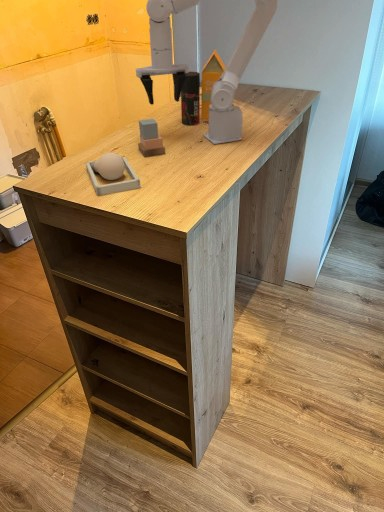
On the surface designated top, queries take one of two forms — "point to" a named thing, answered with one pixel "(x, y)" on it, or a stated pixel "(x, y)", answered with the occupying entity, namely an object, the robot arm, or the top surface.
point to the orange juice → (210, 81)
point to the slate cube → (148, 129)
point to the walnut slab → (151, 151)
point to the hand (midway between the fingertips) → (164, 102)
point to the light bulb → (109, 166)
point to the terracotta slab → (152, 143)
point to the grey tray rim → (115, 186)
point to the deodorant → (191, 99)
